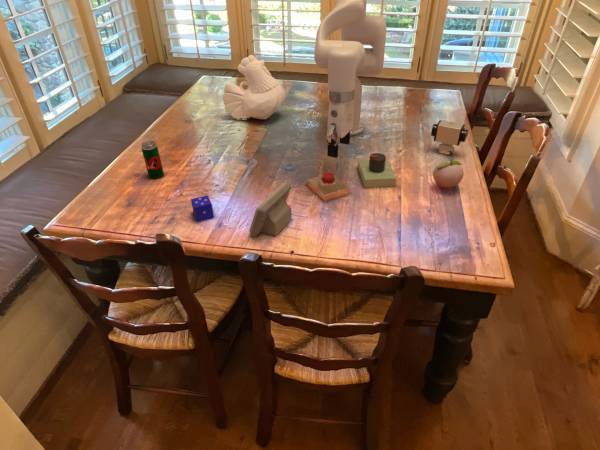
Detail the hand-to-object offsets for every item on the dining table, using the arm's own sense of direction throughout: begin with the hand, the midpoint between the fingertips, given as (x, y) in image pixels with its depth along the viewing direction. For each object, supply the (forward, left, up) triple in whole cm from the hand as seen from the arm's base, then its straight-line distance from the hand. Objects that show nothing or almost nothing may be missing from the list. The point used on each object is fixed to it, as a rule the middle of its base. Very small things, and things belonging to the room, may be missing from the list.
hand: (338, 149), depth 133 cm
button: (0, -3, -10) cm, 10 cm away
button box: (0, -3, -14) cm, 14 cm away
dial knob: (-2, +15, -10) cm, 18 cm away
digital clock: (+12, -25, -14) cm, 31 cm away
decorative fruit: (+12, +33, -14) cm, 37 cm away
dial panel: (-2, +15, -14) cm, 20 cm away
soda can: (-28, -55, -14) cm, 63 cm away
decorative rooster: (-65, -11, -14) cm, 67 cm away
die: (+1, -43, -14) cm, 45 cm away
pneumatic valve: (-9, +47, -14) cm, 49 cm away
